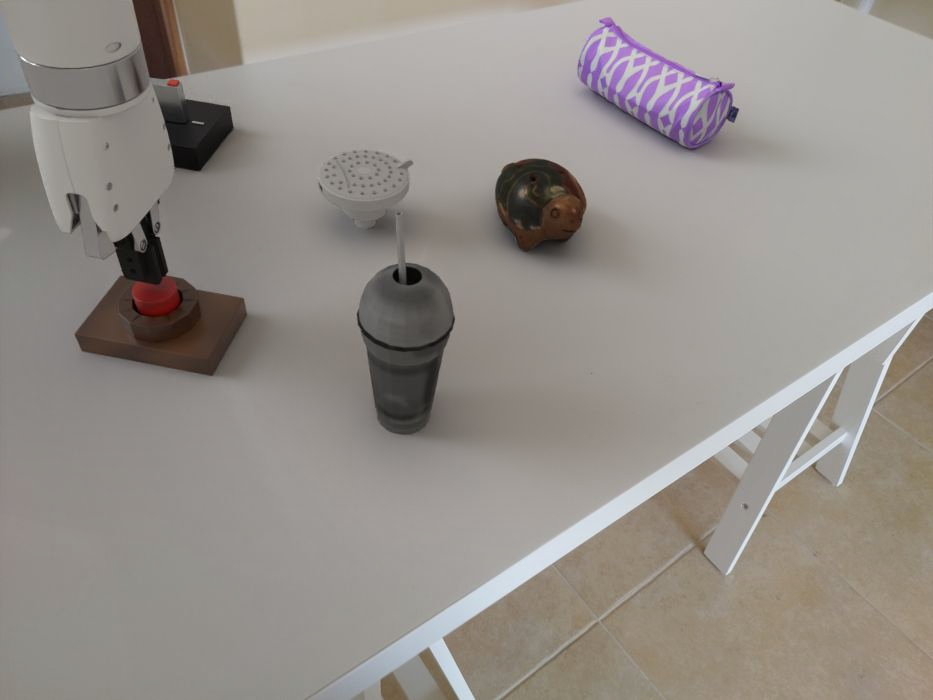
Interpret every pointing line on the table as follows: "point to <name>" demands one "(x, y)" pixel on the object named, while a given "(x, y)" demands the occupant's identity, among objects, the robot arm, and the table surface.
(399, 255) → the beverage cup
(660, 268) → the table surface
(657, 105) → the pencil case
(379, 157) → the showerhead
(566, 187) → the decorative turtle
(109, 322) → the button block
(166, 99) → the grey rectangular plate
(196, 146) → the black lever switch box
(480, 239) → the table surface
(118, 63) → the robot arm
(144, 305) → the stop button
